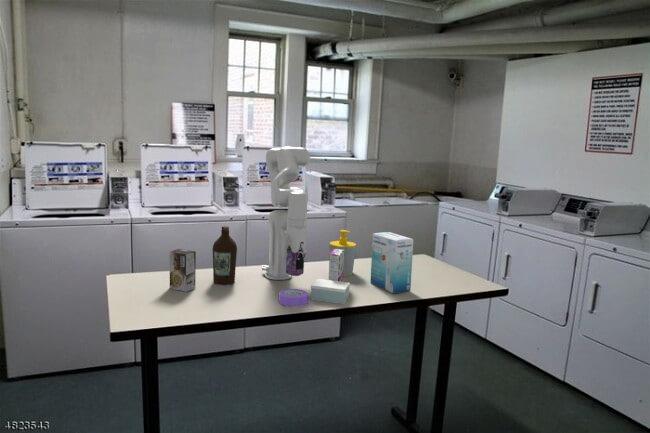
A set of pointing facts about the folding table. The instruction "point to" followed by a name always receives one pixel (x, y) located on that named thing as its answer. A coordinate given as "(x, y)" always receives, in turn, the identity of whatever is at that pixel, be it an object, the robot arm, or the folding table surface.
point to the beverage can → (292, 263)
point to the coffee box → (182, 269)
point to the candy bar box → (336, 265)
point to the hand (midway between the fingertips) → (294, 266)
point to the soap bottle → (345, 252)
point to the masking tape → (293, 297)
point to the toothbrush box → (391, 262)
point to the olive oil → (224, 258)
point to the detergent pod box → (330, 291)
